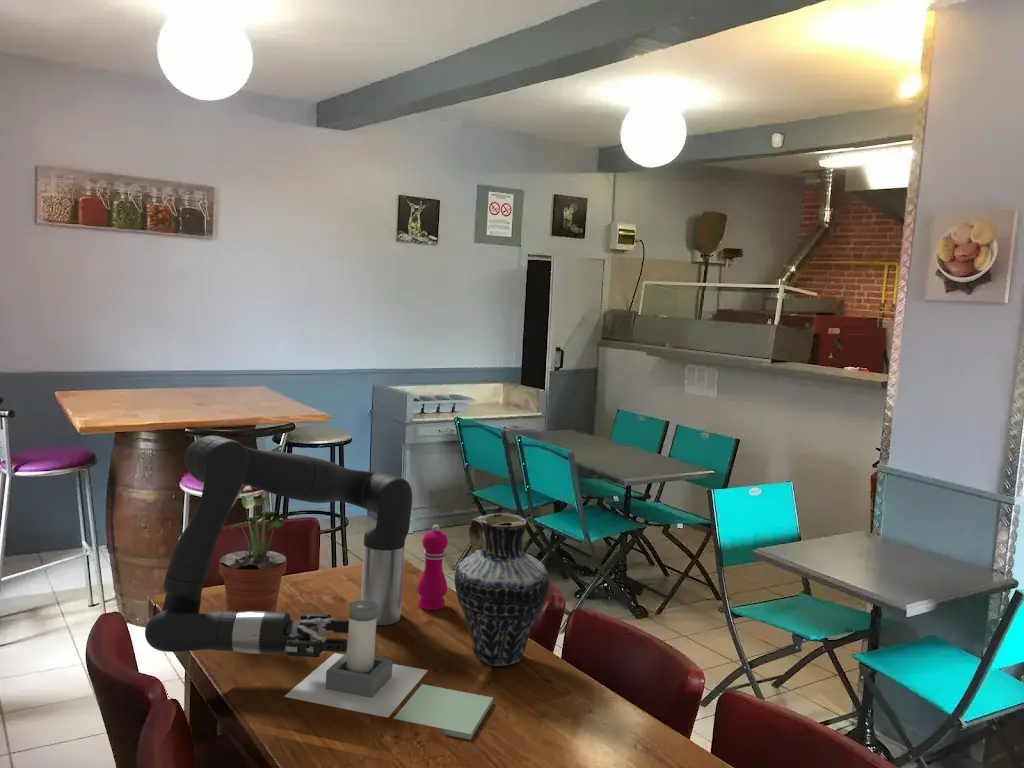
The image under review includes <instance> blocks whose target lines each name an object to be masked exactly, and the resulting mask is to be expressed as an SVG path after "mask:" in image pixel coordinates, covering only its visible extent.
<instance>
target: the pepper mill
mask: <svg viewBox="0 0 1024 768" xmlns="http://www.w3.org/2000/svg"><path fill="white" fill-rule="evenodd" d="M431 528H432V529H431V530H429V531H428V532H426V533H425V534H424V535H423V538H422V546H423V548H424V551H423V553H424V554H423V558H424V559H425V562H424V563H425V564H424V570H423V571H422V574H421V576H420V577H419V579H418V582H417V587H416V592H417V593H418V595H419V597H418V600H417V601H418V602H417V603H418V604H417V605H418V608H419V607H420V608H419V609H421V608H422V609H421V610H423V609H425V610H424V611H429V610H436V611H439V610H438V609H440V610H442V609H444V608H445V598H444V596H445V595H446V594H447V593H448V583H447V579H446V576H445V575H444V570H443V561H444V558H445V557H446V556H445V554H446V552H445V550H446V548H447V546H448V545H449V544H448V543H449V542H448V537H447V535H446V533H444V532H443V531H441V530H440V528H441V527H440V526H439V525H438V524H434V525H433V526H432V527H431ZM441 608H442V609H441Z"/></svg>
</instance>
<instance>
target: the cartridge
mask: <svg viewBox="0 0 1024 768" xmlns="http://www.w3.org/2000/svg"><path fill="white" fill-rule="evenodd" d="M348 607H349V608H348V621H349V631H348V633H347V650H346V653H347V669H346V670H347V671H353V672H358V673H363V674H368V675H369V674H370V673H371V672H372V671H373V670H374V656H375V651H376V649H375V648H376V632H377V625H376V617H377V609H378V605H377V603H375V602H372V601H367V600H361V599H360V600H355V601H352V602H350V603H349V605H348Z"/></svg>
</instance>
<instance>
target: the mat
mask: <svg viewBox="0 0 1024 768" xmlns="http://www.w3.org/2000/svg"><path fill="white" fill-rule="evenodd" d="M493 703H494V697H492V696H486V695H481V694H476V693H471V692H465V691H460V690H455V689H450V688H445V687H440V686H434V685H428V684H423V683H421V684H420V686H419V687H418V688H417V690H415V692H414V693H413V694H412V696H411V697H410V698H409V699H408V700H407V702H406V703H405V704H404V705H403V706H402V708H401V709H400V710H399V711H398V712H397V713H396V715H395V716H394V717H393V720H399V721H402V722H408V723H411V724H412V723H414V724H418V725H421V726H427V727H432V728H438V729H441V731H440V732H439V734H440V735H446V736H450V737H454V738H455V737H456V738H460V739H466V740H471V739H472V738H473V737H474V735H475V733H476V732H477V730H478V728H479V726H480V725H481V724H482V721H483V720H484V718H485V716H486V715H487V713H488V711H489V710H490V708H491V707H492V705H493Z"/></svg>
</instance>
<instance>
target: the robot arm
mask: <svg viewBox="0 0 1024 768" xmlns="http://www.w3.org/2000/svg"><path fill="white" fill-rule="evenodd" d="M184 465H185V467H186V469H187V472H188V473H189V474H190V475H191V477H193V478H194V479H195V480H197V481H199V482H201V483H203V487H202V491H201V496H200V502H199V503H198V506H197V509H196V510H195V512H194V515H193V516H192V518H191V520H190V522H189V523H188V525H187V526H186V527H185V529H184V531H182V534H181V535H180V537H179V538H178V540H177V542H176V543H175V547H174V548H173V550H172V553H171V556H170V560H169V563H168V566H167V569H166V575H165V577H164V582H163V591H164V592H165V597H164V602H163V605H162V606H163V607H162V610H161V611H160V612H159V613H157V614H155V615H154V616H152V618H150V619H149V621H148V622H147V624H146V626H145V629H144V636H145V639H146V642H147V643H148V645H149V646H150V647H151V648H153V649H155V650H156V651H159V652H164V653H165V652H166V653H176V652H177V653H179V652H181V653H182V652H190V651H191V652H194V651H201V650H202V651H205V650H206V651H207V650H208V651H210V650H211V651H220V652H238V653H243V654H244V653H245V654H260V655H280V656H281V655H284V654H285V655H286V656H290V657H302V658H303V657H305V658H319V657H320V656H321V654H325V653H326V652H334V653H337V652H338V653H346V652H347V650H348V639H346V638H335V637H334V638H333V637H326V638H325V637H323V636H324V635H326V634H329V633H330V634H331V633H338V634H348V631H349V620H341V619H334V617H333V615H332V614H330V613H301V614H300V615H299V616H300V618H299V620H295V621H294V620H292V616H291V614H290V612H285V611H276V612H267V611H245V612H233V611H227V610H218V611H217V610H214V611H210V612H206V613H200V609H201V604H202V603H201V601H202V591H203V589H204V587H205V582H206V580H207V577H208V574H209V568H210V566H211V562H212V559H213V556H214V553H215V552H214V551H215V549H216V546H217V543H218V541H219V537H220V535H221V532H222V531H223V528H224V526H225V523H226V521H227V519H228V517H229V514H230V512H231V510H232V509H233V507H232V505H233V503H234V501H235V499H236V497H237V494H238V492H239V490H240V489H241V488H242V486H243V485H244V486H250V487H251V488H252V487H253V488H256V489H259V490H261V491H263V492H266V491H267V493H270V494H274V495H277V496H280V497H283V498H287V499H292V500H296V501H300V502H305V503H306V502H307V503H314V504H325V503H334V502H341V503H346V504H350V505H353V506H356V507H360V508H362V509H365V510H367V511H369V512H371V513H374V514H377V516H376V525H375V527H371V528H369V529H368V530H366V531H365V532H364V534H363V535H364V536H363V546H362V547H363V550H362V567H361V568H362V569H361V589H360V600H367V601H372V602H375V603H377V605H378V609H377V617H376V626H387V625H393V624H395V623H398V622H399V621H400V620H401V615H402V614H401V613H402V601H403V600H402V597H403V595H402V594H403V582H404V564H405V548H406V546H405V544H406V538H407V537H408V534H409V531H410V525H411V518H412V517H411V516H412V505H413V490H412V487H411V484H410V483H409V482H408V481H407V480H406V479H405V478H402V477H400V476H396V475H393V474H390V473H386V472H381V471H366V470H357V469H350V468H347V467H344V466H341V465H340V464H337V463H335V462H332V461H328V460H325V459H323V458H318V457H312V456H309V455H305V454H296V453H291V452H282V451H273V450H262V449H258V448H257V449H256V448H252V447H247V446H244V445H243V443H241V442H239V441H236V440H235V439H231V438H226V437H222V436H218V435H207V436H203V437H200V438H198V439H196V440H195V441H193V442H192V443H190V445H189V446H188V447H187V449H186V451H185V453H184ZM233 506H234V505H233Z"/></svg>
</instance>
